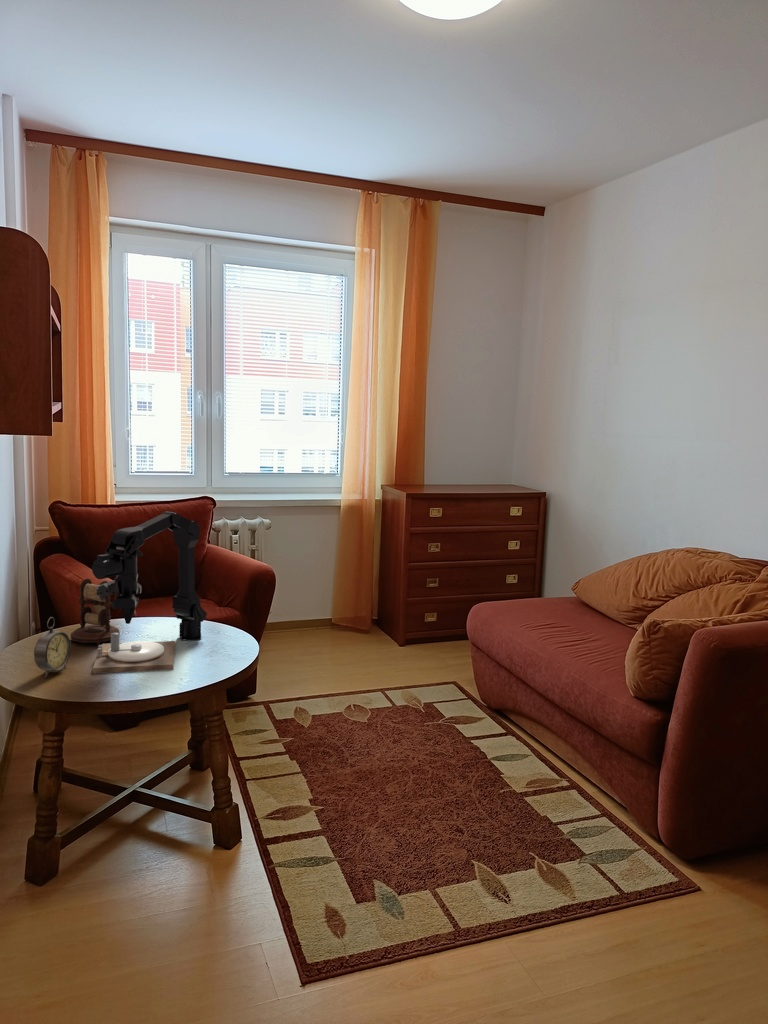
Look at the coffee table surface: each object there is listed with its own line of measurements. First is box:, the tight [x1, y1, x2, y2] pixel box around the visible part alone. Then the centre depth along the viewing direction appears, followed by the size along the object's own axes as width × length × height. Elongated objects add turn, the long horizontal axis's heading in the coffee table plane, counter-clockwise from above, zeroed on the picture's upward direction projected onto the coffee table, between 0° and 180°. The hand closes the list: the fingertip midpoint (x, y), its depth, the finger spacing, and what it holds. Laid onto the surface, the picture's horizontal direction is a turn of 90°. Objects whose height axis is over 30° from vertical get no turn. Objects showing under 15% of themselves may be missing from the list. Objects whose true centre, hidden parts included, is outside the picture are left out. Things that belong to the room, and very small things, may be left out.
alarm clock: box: [33, 616, 72, 679], centre depth 202 cm, size 11×5×16 cm, turn 168°
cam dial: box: [103, 633, 164, 662], centre depth 217 cm, size 18×16×6 cm
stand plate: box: [92, 640, 176, 674], centre depth 217 cm, size 22×22×4 cm
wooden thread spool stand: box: [70, 578, 121, 647], centre depth 232 cm, size 15×15×20 cm
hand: (128, 623), depth 214 cm, fingers closed
